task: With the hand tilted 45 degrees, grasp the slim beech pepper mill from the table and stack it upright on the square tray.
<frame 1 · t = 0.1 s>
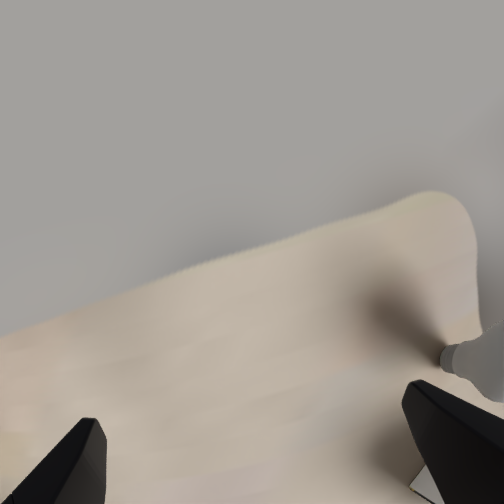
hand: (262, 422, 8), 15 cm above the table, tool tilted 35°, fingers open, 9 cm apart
medicine bottle: (445, 467, 22), on the table
lightbulb: (443, 358, 24), on the table
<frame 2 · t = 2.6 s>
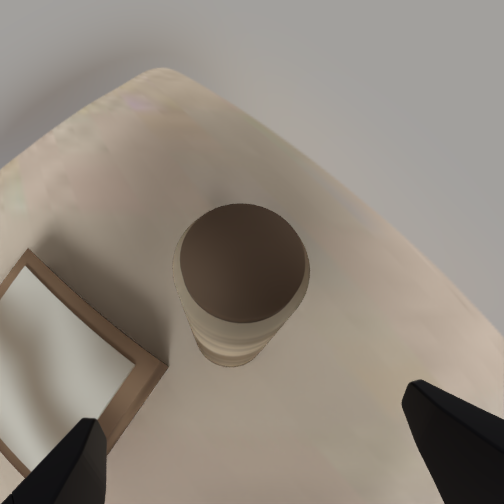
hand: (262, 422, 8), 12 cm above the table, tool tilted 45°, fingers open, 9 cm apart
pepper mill: (230, 333, 20), on the table
square tray: (51, 380, 17), on the table
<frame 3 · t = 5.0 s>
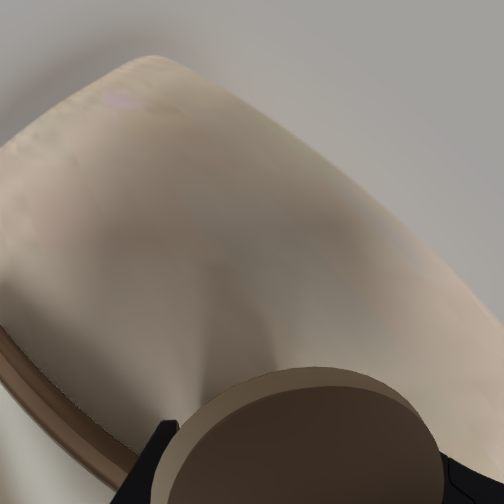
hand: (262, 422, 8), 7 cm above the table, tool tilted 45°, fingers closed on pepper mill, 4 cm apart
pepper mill: (246, 431, 13), on the table, touching gripper
square tray: (20, 473, 10), on the table
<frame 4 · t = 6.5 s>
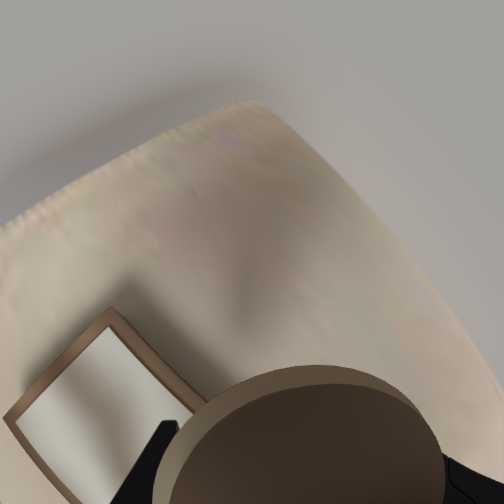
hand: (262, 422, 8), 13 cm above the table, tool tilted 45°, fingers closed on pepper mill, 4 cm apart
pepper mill: (247, 430, 13), point 7 cm above the table, touching gripper
square tray: (123, 434, 18), on the table
when the fingers open (11 cm above the table, at t = 8.4 s): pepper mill stays where it is, resting on square tray.
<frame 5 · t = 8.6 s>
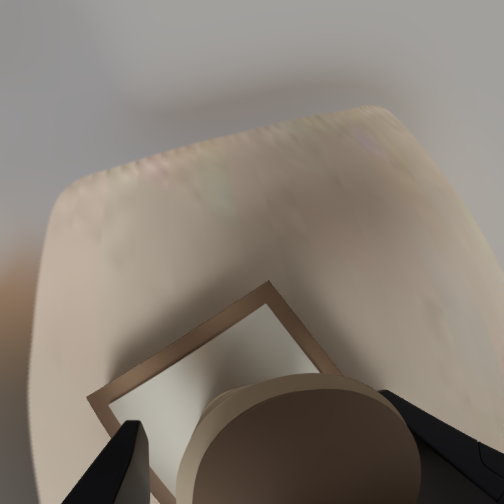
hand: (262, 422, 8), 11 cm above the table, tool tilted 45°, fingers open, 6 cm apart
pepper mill: (243, 430, 14), point 3 cm above the table, touching square tray
square tray: (241, 429, 17), on the table
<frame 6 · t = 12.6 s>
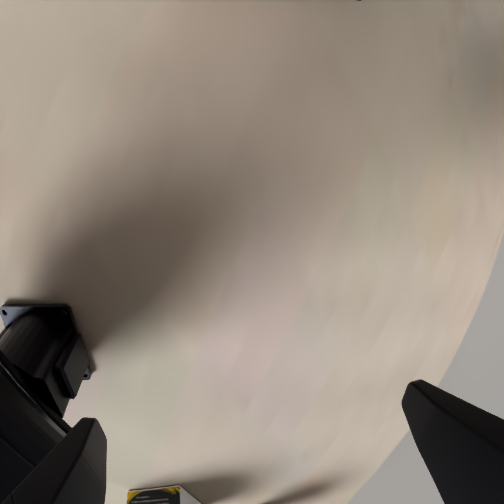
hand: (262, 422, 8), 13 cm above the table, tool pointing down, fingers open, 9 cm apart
medicine bottle: (166, 498, 29), on the table
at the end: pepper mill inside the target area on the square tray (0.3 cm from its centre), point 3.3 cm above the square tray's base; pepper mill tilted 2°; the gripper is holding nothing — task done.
